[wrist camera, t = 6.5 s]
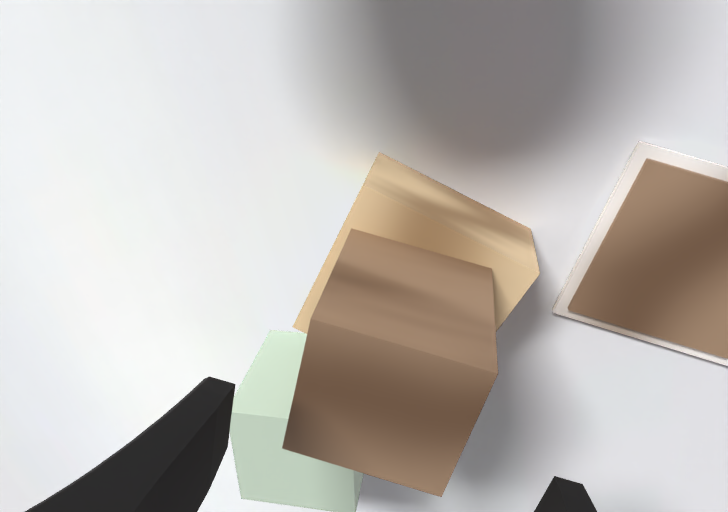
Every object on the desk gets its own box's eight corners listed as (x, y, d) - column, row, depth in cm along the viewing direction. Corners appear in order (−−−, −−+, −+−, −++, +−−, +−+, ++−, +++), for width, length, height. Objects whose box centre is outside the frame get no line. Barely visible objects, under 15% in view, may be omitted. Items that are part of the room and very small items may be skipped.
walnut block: (448, 376, 19) (441, 496, 15) (324, 339, 20) (281, 448, 15) (491, 268, 17) (498, 373, 13) (351, 228, 17) (310, 318, 13)
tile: (849, 202, 18) (857, 207, 17) (727, 363, 21) (732, 370, 21) (638, 140, 18) (642, 144, 17) (551, 309, 21) (553, 315, 21)
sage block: (374, 338, 23) (352, 426, 19) (375, 419, 25) (354, 514, 21) (270, 329, 24) (226, 411, 20) (279, 408, 26) (241, 498, 22)
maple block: (529, 225, 20) (540, 273, 17) (448, 341, 23) (444, 400, 20) (380, 149, 20) (362, 184, 17) (317, 277, 23) (292, 326, 20)
